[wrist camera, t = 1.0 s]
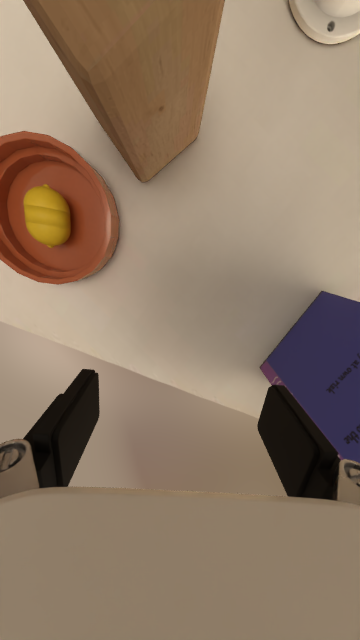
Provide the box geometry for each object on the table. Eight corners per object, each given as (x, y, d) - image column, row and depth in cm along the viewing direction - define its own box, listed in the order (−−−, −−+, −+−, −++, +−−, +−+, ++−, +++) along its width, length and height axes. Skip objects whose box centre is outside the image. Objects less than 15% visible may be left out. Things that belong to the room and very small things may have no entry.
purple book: (278, 377, 41) (406, 541, 18) (259, 367, 40) (369, 526, 17) (341, 304, 36) (628, 402, 13) (321, 290, 35) (591, 371, 12)
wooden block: (143, 187, 29) (84, 80, 10) (94, 115, 26) (-109, -210, 8) (201, 137, 27) (255, -105, 9) (154, 53, 25) (83, -580, 6)
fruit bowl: (-10, 139, 27) (-45, 119, 23) (122, 161, 28) (112, 145, 24) (9, 271, 33) (-16, 275, 29) (117, 285, 34) (109, 291, 30)
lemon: (38, 186, 28) (9, 174, 24) (76, 192, 29) (55, 181, 24) (43, 245, 31) (18, 245, 26) (77, 250, 31) (59, 250, 26)
